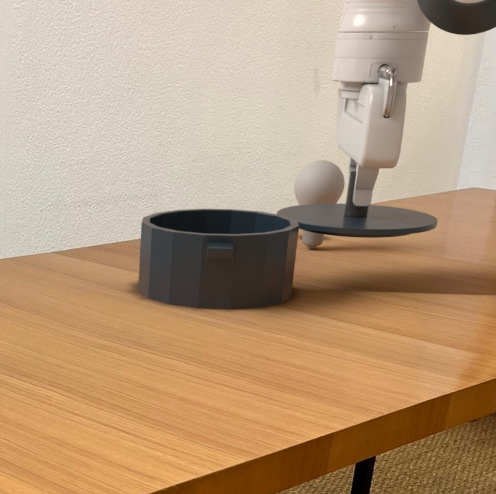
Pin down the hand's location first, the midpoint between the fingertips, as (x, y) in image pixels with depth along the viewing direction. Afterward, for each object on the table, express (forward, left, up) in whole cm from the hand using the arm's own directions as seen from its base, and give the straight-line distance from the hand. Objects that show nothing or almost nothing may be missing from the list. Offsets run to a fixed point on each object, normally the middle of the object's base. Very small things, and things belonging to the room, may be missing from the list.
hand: (358, 202), depth 113 cm
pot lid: (0, 0, -2) cm, 2 cm away
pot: (+15, +10, -9) cm, 20 cm away
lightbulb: (+2, -21, -9) cm, 23 cm away
